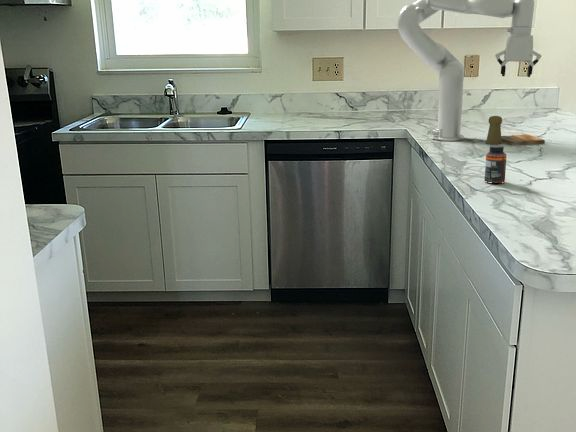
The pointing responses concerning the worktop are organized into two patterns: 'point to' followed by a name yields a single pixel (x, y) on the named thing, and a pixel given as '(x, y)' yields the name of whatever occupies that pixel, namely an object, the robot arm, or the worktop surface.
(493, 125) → the cork
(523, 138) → the board
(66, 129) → the worktop surface
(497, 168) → the supplement bottle
